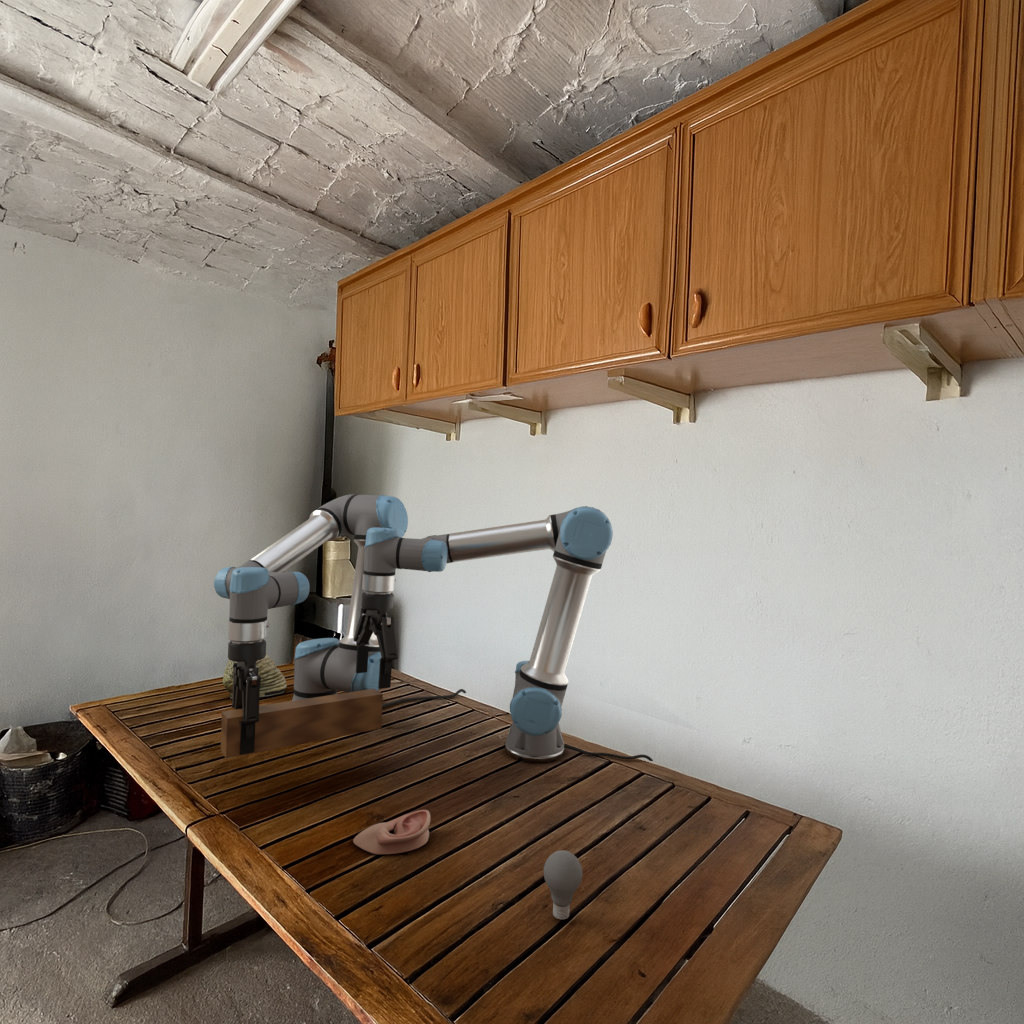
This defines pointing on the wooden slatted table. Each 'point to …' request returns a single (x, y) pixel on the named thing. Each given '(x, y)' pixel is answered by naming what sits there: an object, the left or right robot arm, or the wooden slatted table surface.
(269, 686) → the fossil
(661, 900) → the wooden slatted table surface
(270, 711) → the bar
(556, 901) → the light bulb
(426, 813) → the anatomical model
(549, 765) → the wooden slatted table surface
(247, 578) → the left robot arm
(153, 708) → the wooden slatted table surface
